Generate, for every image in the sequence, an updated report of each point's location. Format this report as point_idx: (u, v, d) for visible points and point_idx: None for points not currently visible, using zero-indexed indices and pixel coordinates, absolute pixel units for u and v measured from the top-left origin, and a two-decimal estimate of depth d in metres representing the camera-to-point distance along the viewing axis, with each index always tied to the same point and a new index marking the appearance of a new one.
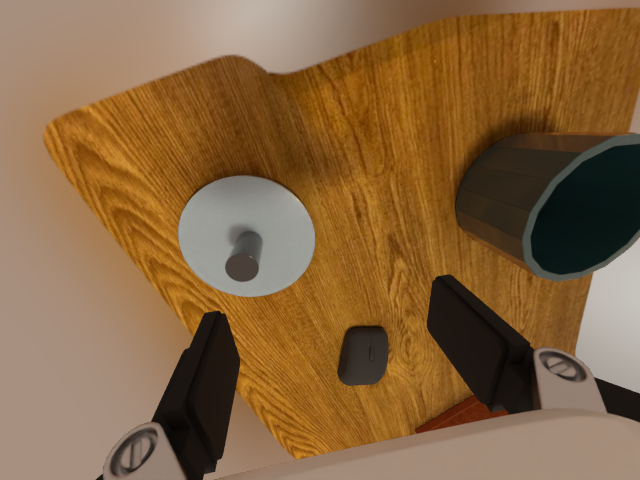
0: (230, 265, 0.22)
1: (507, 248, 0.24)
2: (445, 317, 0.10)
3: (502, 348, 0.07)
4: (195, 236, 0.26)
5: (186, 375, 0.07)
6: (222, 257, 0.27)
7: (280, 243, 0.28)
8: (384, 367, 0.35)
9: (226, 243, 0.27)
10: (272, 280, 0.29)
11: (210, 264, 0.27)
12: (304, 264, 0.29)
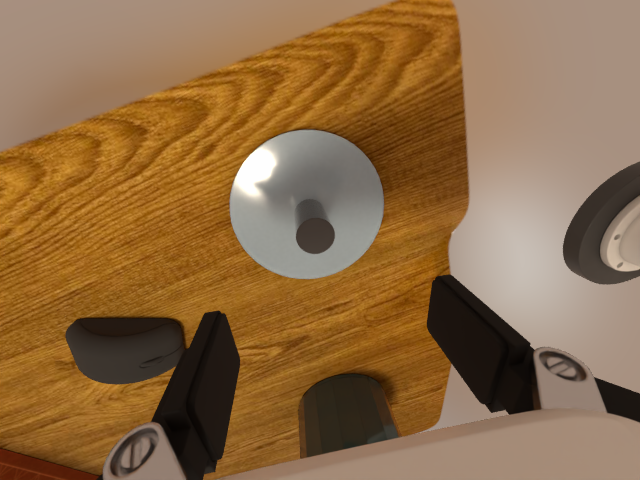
0: (321, 224, 0.18)
1: (326, 443, 0.28)
2: (445, 317, 0.10)
3: (502, 348, 0.07)
4: (321, 152, 0.21)
5: (186, 375, 0.07)
6: (291, 180, 0.22)
7: None
8: (130, 382, 0.26)
9: (310, 188, 0.22)
10: (258, 236, 0.23)
11: (281, 164, 0.21)
12: (280, 270, 0.25)
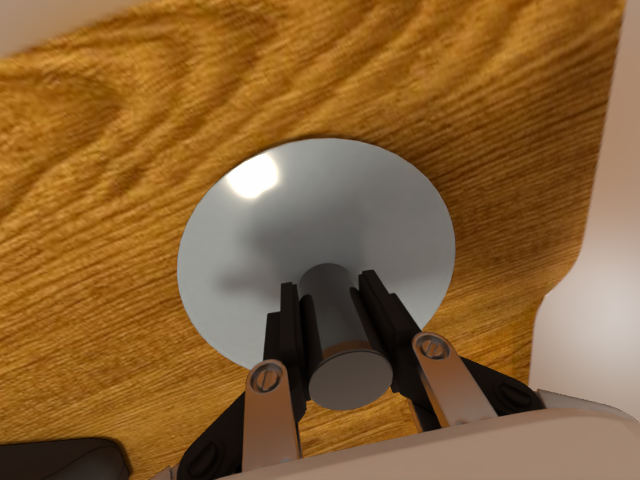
0: (365, 361, 0.08)
1: None
2: None
3: (390, 333, 0.08)
4: (351, 182, 0.11)
5: (287, 326, 0.08)
6: (294, 233, 0.12)
7: None
8: None
9: (328, 244, 0.12)
10: (234, 326, 0.13)
11: (273, 205, 0.11)
12: None
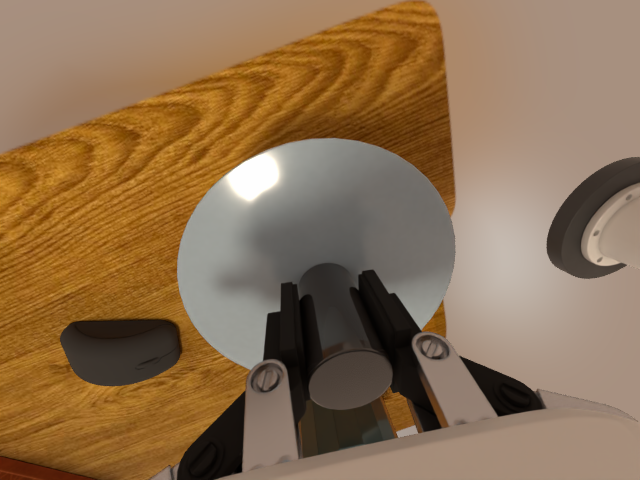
0: (365, 360, 0.08)
1: (321, 438, 0.29)
2: None
3: (390, 333, 0.08)
4: (351, 182, 0.11)
5: (288, 326, 0.08)
6: (294, 233, 0.12)
7: None
8: (126, 384, 0.26)
9: (328, 244, 0.12)
10: (234, 325, 0.13)
11: (273, 205, 0.11)
12: None
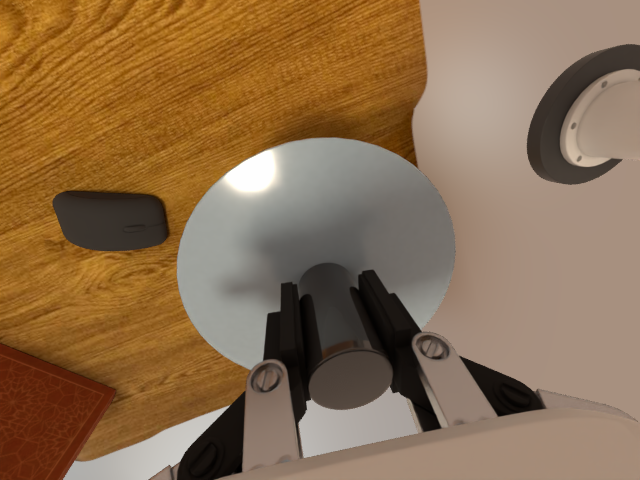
0: (365, 360, 0.08)
1: None
2: None
3: (390, 333, 0.08)
4: (351, 181, 0.11)
5: (288, 326, 0.08)
6: (293, 233, 0.12)
7: None
8: (114, 248, 0.28)
9: (328, 244, 0.12)
10: (233, 325, 0.13)
11: (273, 205, 0.11)
12: None
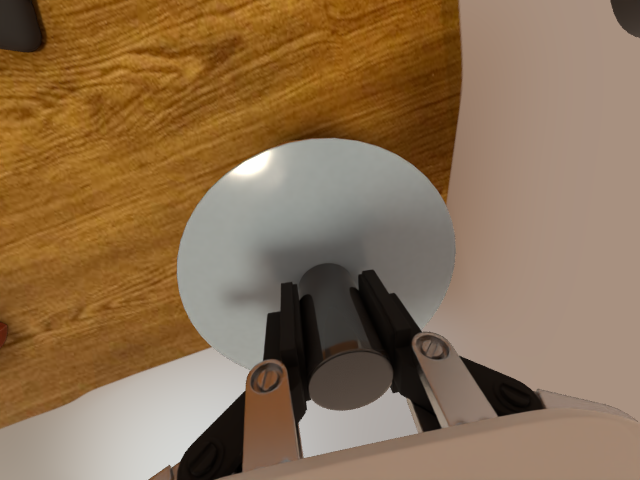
0: (365, 361, 0.08)
1: None
2: None
3: (390, 333, 0.08)
4: (351, 182, 0.11)
5: (288, 326, 0.08)
6: (293, 233, 0.11)
7: None
8: None
9: (328, 244, 0.12)
10: (234, 326, 0.13)
11: (273, 205, 0.11)
12: None
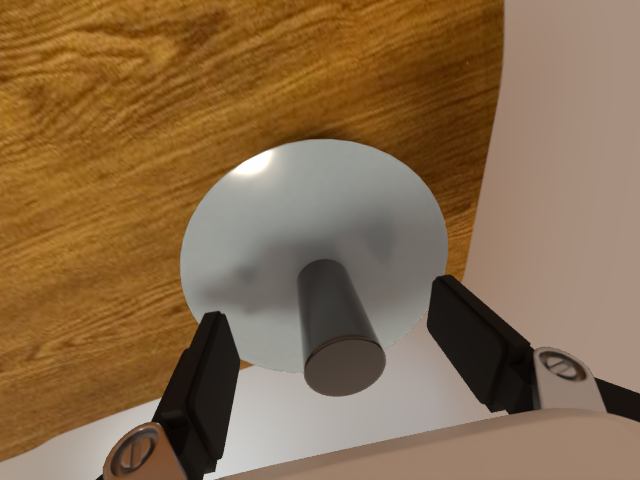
0: (358, 348, 0.08)
1: None
2: (445, 317, 0.10)
3: (502, 348, 0.07)
4: (346, 181, 0.11)
5: (186, 375, 0.07)
6: (292, 230, 0.12)
7: None
8: None
9: (325, 241, 0.12)
10: (234, 320, 0.14)
11: (272, 203, 0.11)
12: (273, 364, 0.16)
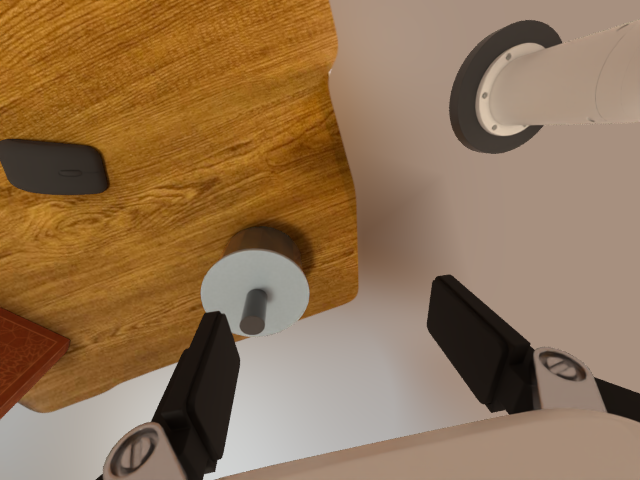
0: (254, 319, 0.29)
1: (226, 254, 0.33)
2: (445, 317, 0.10)
3: (502, 348, 0.07)
4: (260, 262, 0.32)
5: (186, 375, 0.07)
6: (242, 279, 0.32)
7: None
8: (52, 190, 0.31)
9: (255, 282, 0.33)
10: (221, 312, 0.34)
11: (234, 270, 0.32)
12: (239, 332, 0.36)
